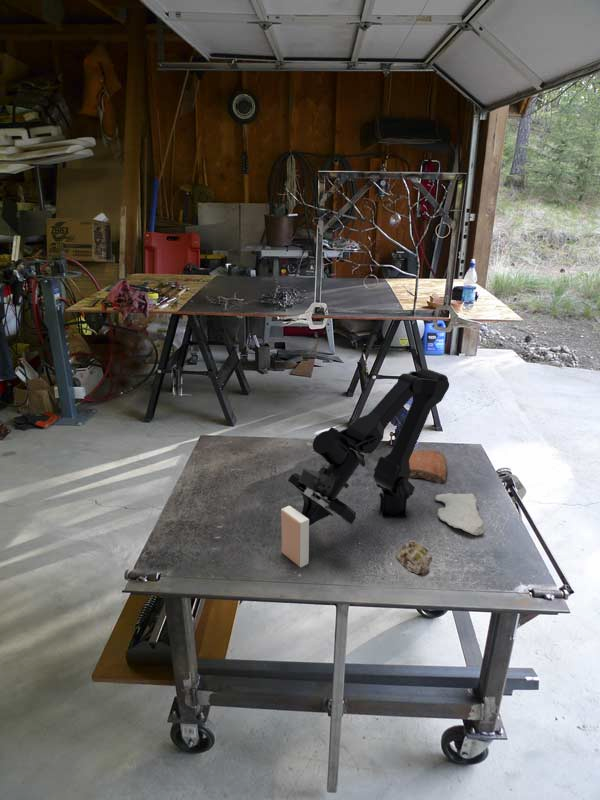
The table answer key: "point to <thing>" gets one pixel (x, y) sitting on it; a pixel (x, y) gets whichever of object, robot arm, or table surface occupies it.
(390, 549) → the table surface
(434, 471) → the ceramic shard
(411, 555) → the mineral rock
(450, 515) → the stone
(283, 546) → the tile
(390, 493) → the robot arm
